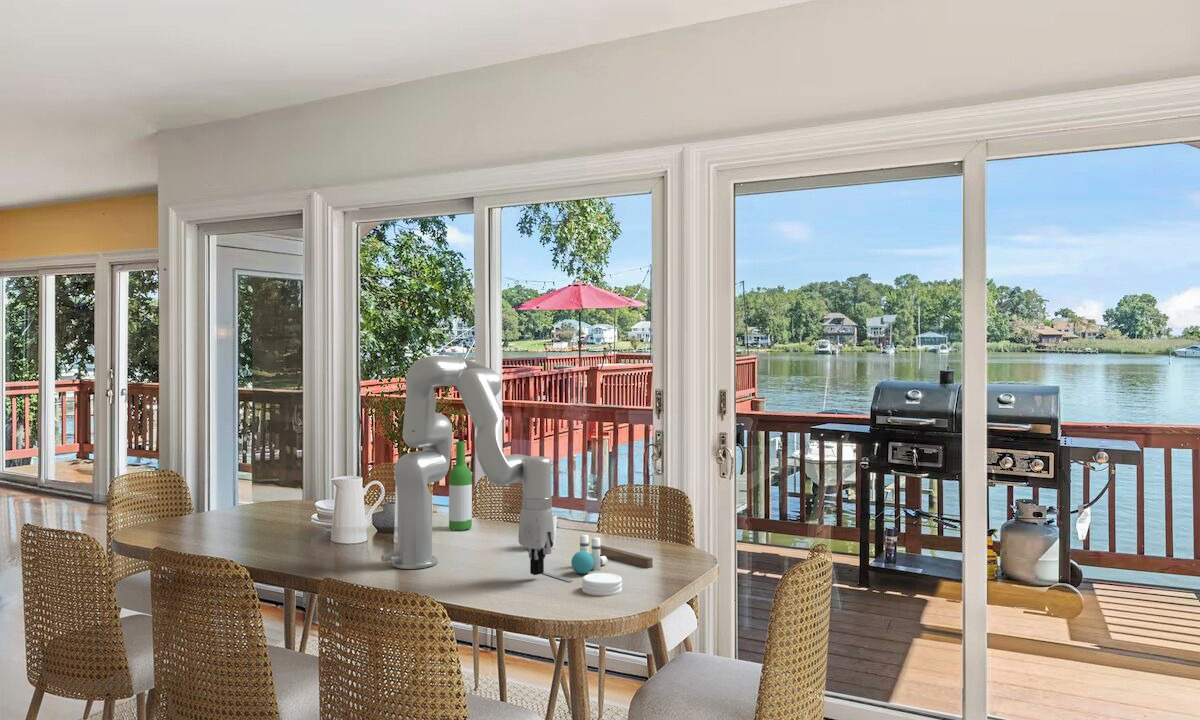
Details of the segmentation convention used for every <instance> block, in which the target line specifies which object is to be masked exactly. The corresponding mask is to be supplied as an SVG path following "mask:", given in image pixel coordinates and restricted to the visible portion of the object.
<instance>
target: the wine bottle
mask: <svg viewBox="0 0 1200 720" xmlns="http://www.w3.org/2000/svg"><path fill="white" fill-rule="evenodd" d="M465 443H466V442H465V441H456V444H455V445H456V447H455V448H456V449H455V455H456V456H455V466H453V467H452V468H451V470H450V472H449V475H448V479H449V480H448V528H449V529H450V530H451V529H454V530H464V531H467V530H466V529H469V530H470V529H471V528H472V526H473V524H472V523H473V520H472V519H473V501H472V500H473V497H472V496H473V481H472V480H473V478H472V477H473V475H472V471H471V469H470V468H469V467H468V466H467V465H466V444H465ZM454 530H453V531H454Z"/></svg>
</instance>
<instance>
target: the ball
mask: <svg viewBox="0 0 1200 720" xmlns="http://www.w3.org/2000/svg"><path fill="white" fill-rule="evenodd" d="M593 564H594V561H593V558H592V554H591V553H590V552H589V553H588V552H586V551H580V550H579V551H576V552H575V553H574V555H573V556H572V558H571V567H572V569H573V571H575V572H576V573H577V574H581V575H585V574H587V573H589V572H591V570H592V567H593Z"/></svg>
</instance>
